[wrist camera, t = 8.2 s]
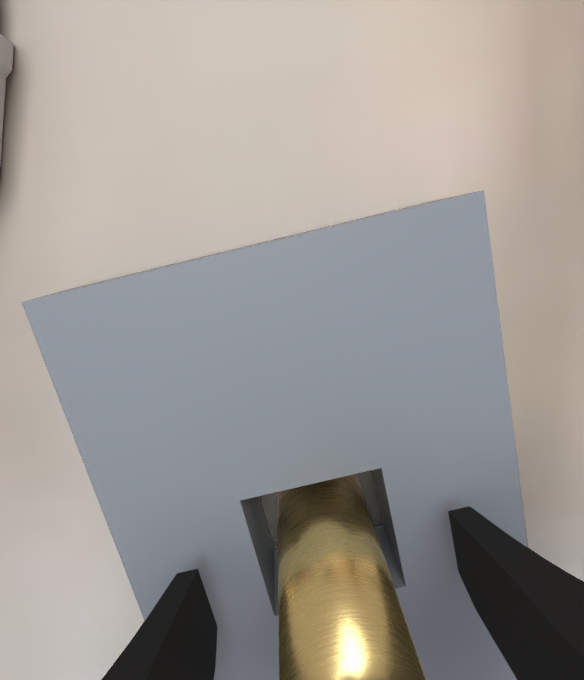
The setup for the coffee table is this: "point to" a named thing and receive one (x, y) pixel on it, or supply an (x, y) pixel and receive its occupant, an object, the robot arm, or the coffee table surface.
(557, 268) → the coffee table surface
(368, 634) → the tall pin
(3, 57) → the walkie-talkie
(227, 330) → the grey flat block
